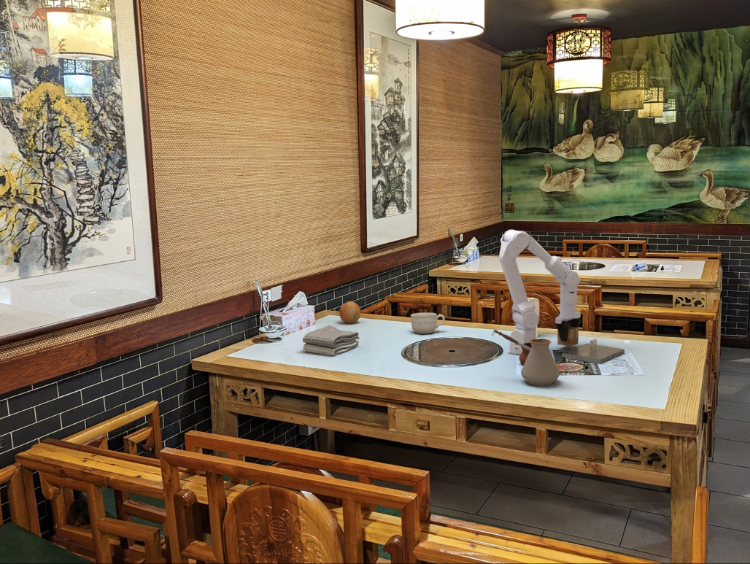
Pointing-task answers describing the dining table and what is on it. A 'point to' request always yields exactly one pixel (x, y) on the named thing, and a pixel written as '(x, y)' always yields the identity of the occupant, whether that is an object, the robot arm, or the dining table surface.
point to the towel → (330, 341)
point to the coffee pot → (537, 362)
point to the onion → (350, 312)
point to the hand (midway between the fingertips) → (567, 339)
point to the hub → (593, 352)
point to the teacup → (425, 322)
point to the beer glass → (535, 308)
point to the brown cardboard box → (570, 337)
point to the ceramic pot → (525, 354)
